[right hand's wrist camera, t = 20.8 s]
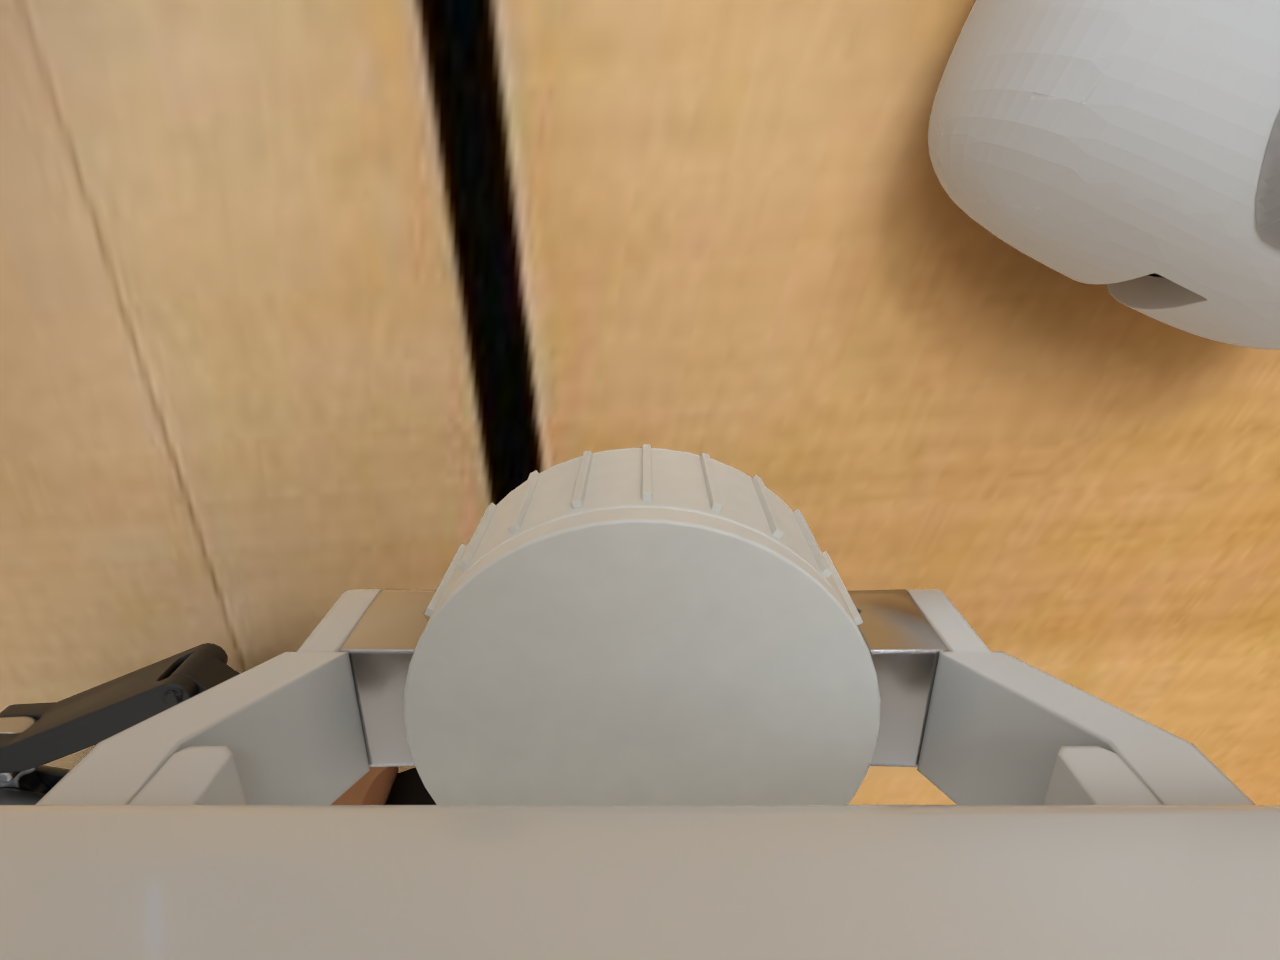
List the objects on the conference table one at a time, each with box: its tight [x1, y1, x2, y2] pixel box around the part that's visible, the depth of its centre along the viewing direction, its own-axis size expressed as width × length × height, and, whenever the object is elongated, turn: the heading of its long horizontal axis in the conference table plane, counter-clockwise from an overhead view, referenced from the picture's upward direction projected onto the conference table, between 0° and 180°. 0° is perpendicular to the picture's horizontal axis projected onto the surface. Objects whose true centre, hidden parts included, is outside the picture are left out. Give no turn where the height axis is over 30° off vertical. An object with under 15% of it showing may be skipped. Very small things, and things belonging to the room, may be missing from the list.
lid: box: [404, 444, 880, 805], centre depth 9 cm, size 6×6×2 cm
